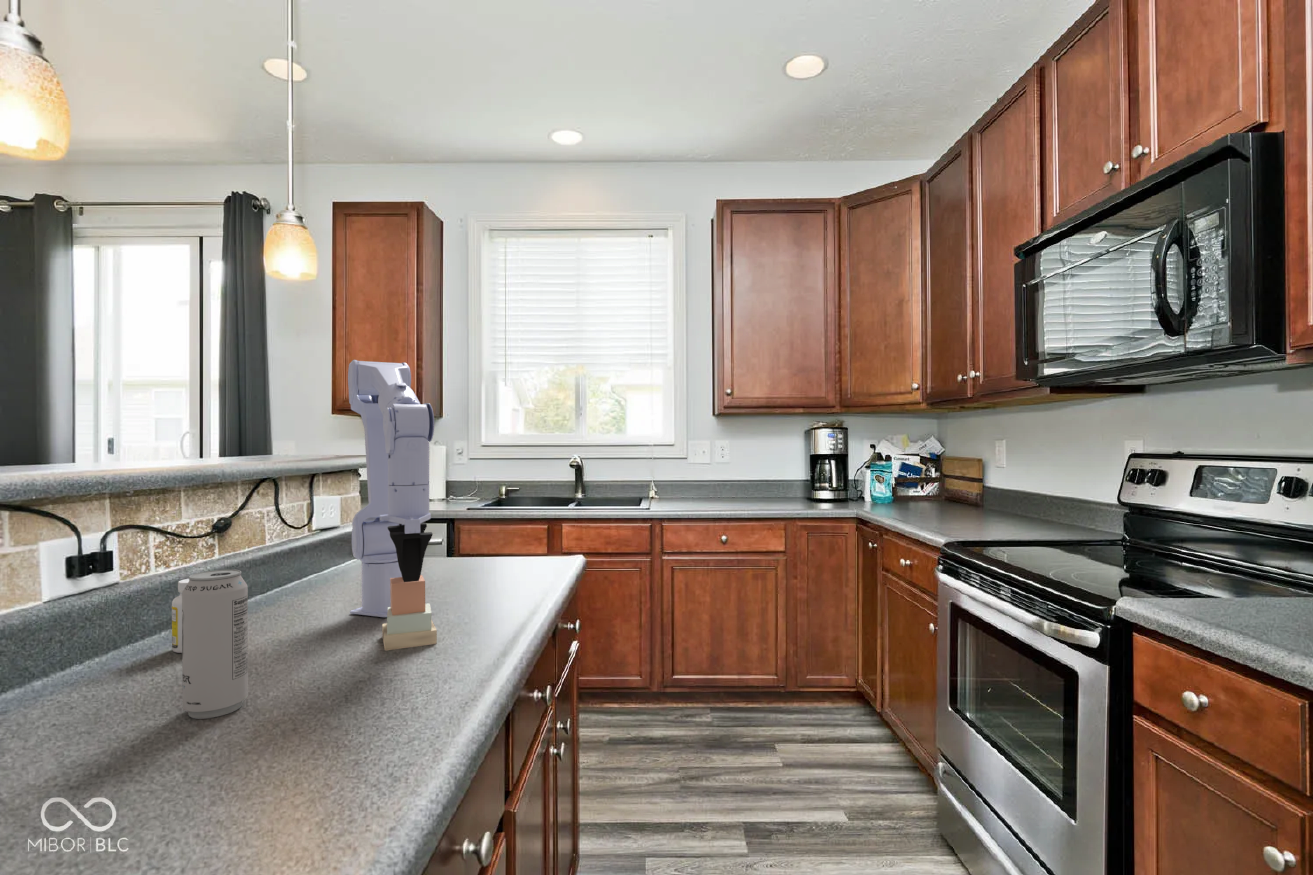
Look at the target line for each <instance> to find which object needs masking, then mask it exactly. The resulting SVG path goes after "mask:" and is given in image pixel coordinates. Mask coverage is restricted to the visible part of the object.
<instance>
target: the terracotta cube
mask: <svg viewBox="0 0 1313 875" xmlns="http://www.w3.org/2000/svg"><path fill="white" fill-rule="evenodd" d="M390 598H391V611H392V615H400V614H408V613H416V612H424V611H425V604H426V579H425V578H424V576H423V574H421V575H420V579H419V581H413V582H404V581H403V578H402V577H397V578H390Z"/></svg>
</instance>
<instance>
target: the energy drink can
mask: <svg viewBox="0 0 1313 875" xmlns="http://www.w3.org/2000/svg"><path fill="white" fill-rule="evenodd" d="M188 579H189V582H188V584H187V585H186V587H185V589H184V590H183V592H182V653H181V659H182V661H181V667H182V668H181V672H182V673H181V678H182V680H181V682H182V683H181V687H182V688H181V689H182V691H181V692H182V694H181V699H182V700H181V705H182V706H181V707H182V710H184V711H185V712H187V713H188V717H190V718H192V719H197V720H198V719H199V720H201V719H212V718H217V717H222V716H224V715H228V714H231V713H234V712H235V711H237V710H239V709H240V708H241V707H242V706H243V702H244V700H246V698H247V697H248V696H249V627H248V626H249V620H248V619H249V616H248V615H249V614H248V613H249V612H248V610H249V608H248V607H249V604H248V603H249V599H248V596H249V594H248V593H249V589H248V588H249V586H248V584H247V582H246V581H245V580H244V579H243V577H242V571H241V570H239V569H217V570H207V571H202V572H201V571H200V572H196V573H193V574H190V575H189V576H188Z"/></svg>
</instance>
